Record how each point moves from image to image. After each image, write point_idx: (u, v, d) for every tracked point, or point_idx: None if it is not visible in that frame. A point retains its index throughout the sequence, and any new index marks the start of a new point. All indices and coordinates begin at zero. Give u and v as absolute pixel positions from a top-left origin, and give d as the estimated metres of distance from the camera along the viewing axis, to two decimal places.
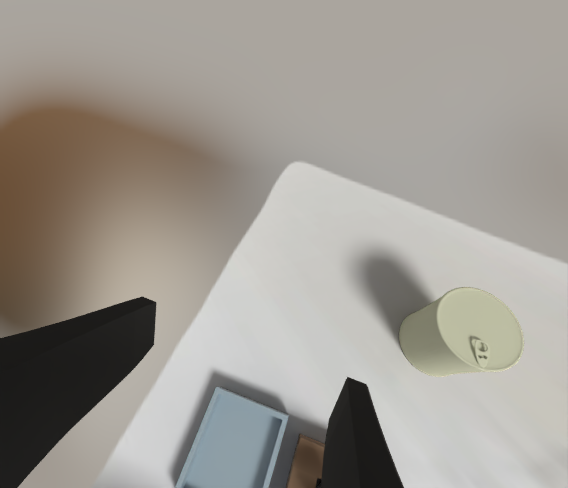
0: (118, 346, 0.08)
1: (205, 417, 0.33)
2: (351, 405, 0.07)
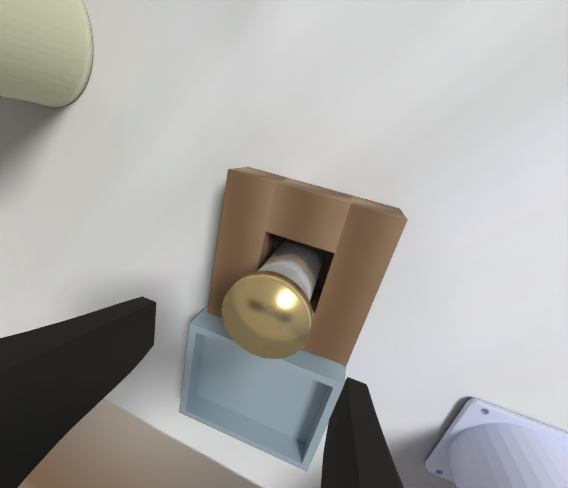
0: (118, 346, 0.08)
1: (214, 427, 0.23)
2: (351, 405, 0.07)
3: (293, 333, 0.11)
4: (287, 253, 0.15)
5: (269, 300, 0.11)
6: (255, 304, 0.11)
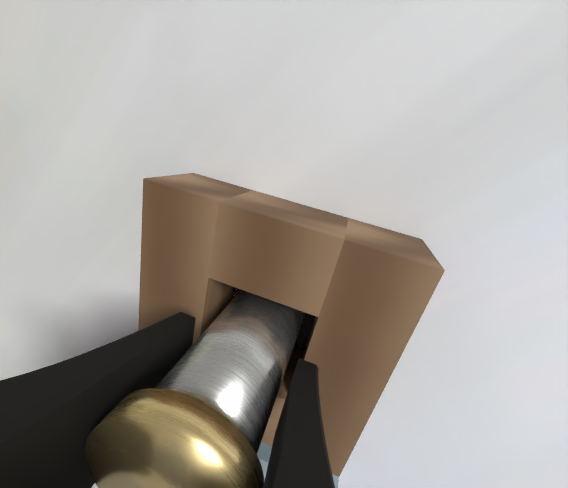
0: (162, 365, 0.08)
1: None
2: (294, 382, 0.07)
3: None
4: (239, 319, 0.09)
5: (166, 464, 0.05)
6: (142, 465, 0.05)
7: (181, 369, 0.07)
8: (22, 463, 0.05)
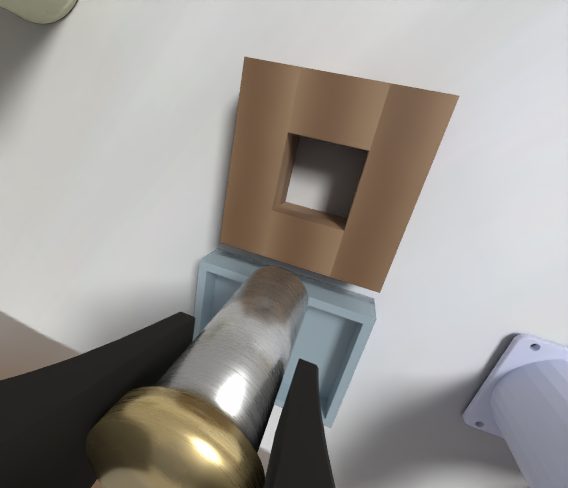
0: (162, 365, 0.08)
1: None
2: (294, 382, 0.07)
3: None
4: (240, 314, 0.09)
5: (166, 463, 0.05)
6: (142, 463, 0.05)
7: (181, 366, 0.07)
8: (23, 464, 0.05)
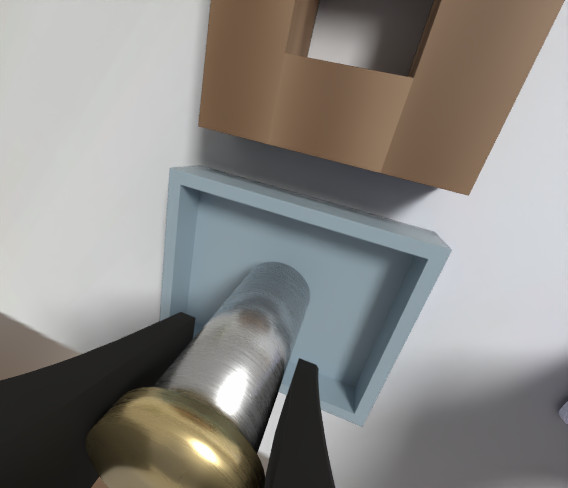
0: (162, 365, 0.08)
1: None
2: (294, 382, 0.07)
3: None
4: (240, 312, 0.09)
5: (165, 464, 0.05)
6: (142, 464, 0.05)
7: (181, 365, 0.07)
8: (22, 464, 0.05)
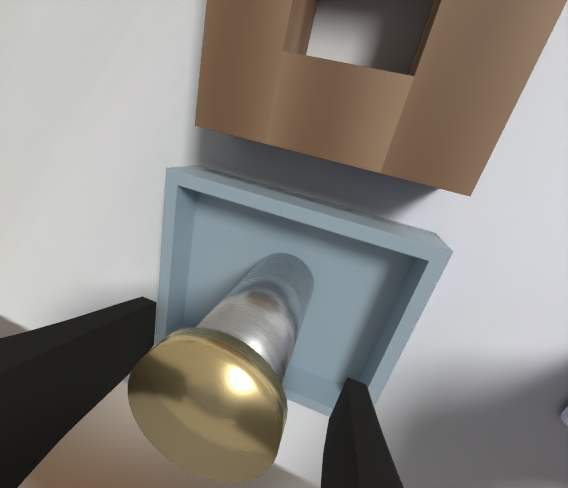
0: (118, 346, 0.08)
1: None
2: (351, 405, 0.07)
3: (250, 447, 0.06)
4: (256, 285, 0.10)
5: (205, 388, 0.06)
6: (182, 392, 0.06)
7: (210, 320, 0.08)
8: None
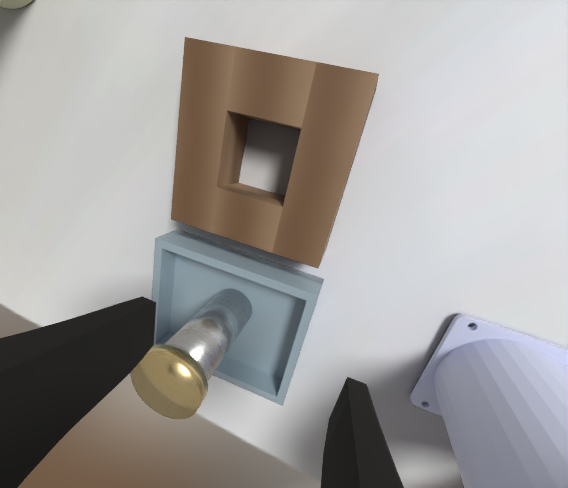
0: (118, 346, 0.08)
1: None
2: (351, 405, 0.07)
3: (187, 400, 0.13)
4: (204, 316, 0.17)
5: (166, 373, 0.13)
6: (156, 375, 0.13)
7: (173, 339, 0.15)
8: None
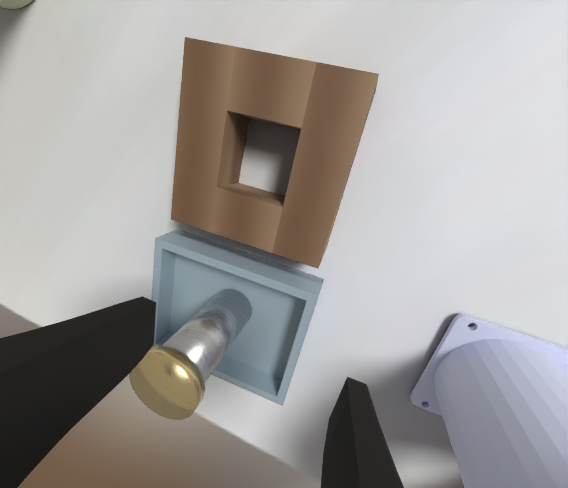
0: (118, 346, 0.08)
1: None
2: (351, 405, 0.07)
3: (184, 401, 0.13)
4: (203, 317, 0.17)
5: (163, 374, 0.13)
6: (153, 376, 0.13)
7: (171, 340, 0.15)
8: None
